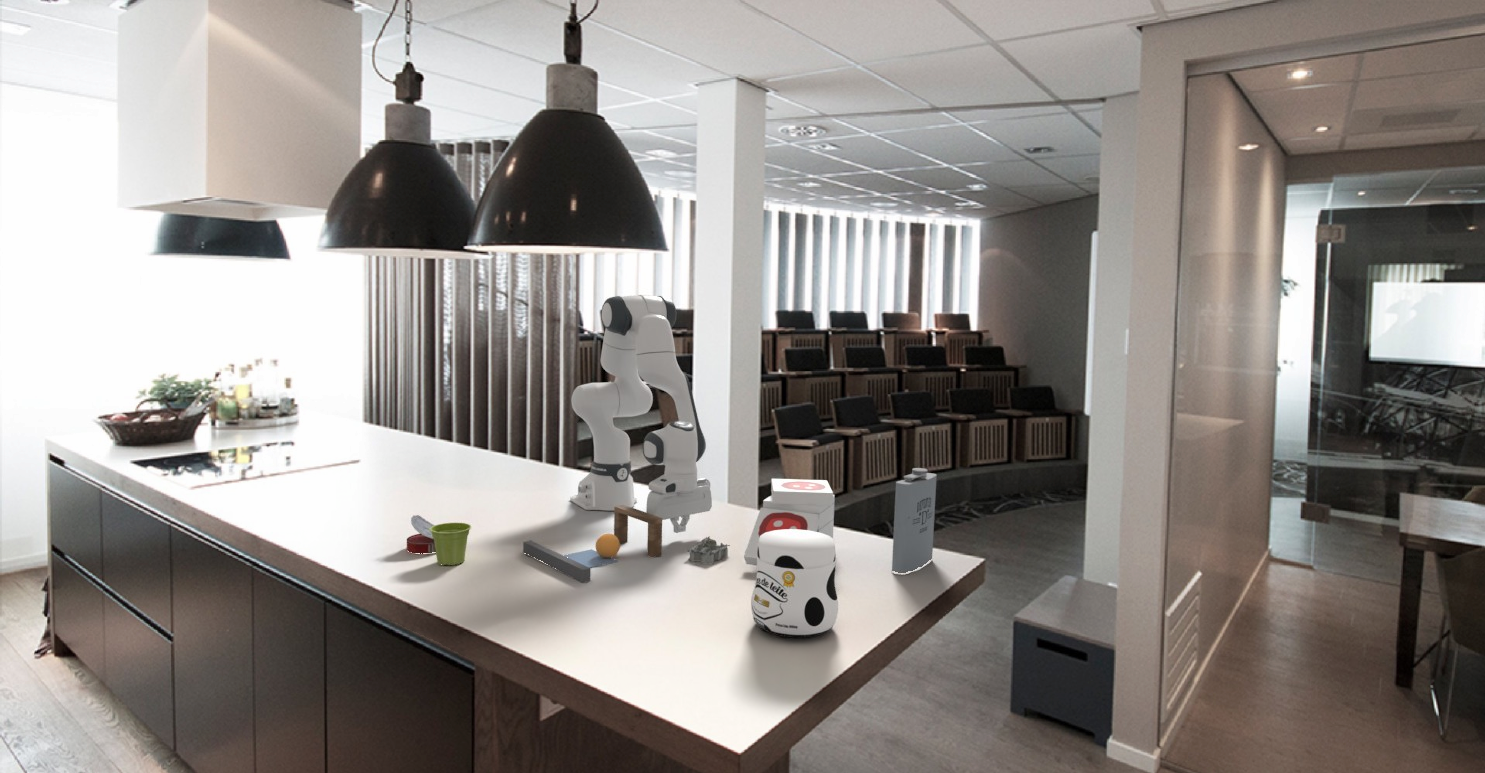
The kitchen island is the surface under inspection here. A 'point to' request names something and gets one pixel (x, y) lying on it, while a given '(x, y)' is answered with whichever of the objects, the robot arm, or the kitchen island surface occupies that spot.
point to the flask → (914, 520)
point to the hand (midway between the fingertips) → (679, 531)
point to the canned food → (421, 537)
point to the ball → (607, 545)
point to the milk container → (795, 583)
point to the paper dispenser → (793, 510)
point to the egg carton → (708, 551)
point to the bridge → (653, 521)
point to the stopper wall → (557, 561)
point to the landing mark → (590, 558)
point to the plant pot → (450, 542)
